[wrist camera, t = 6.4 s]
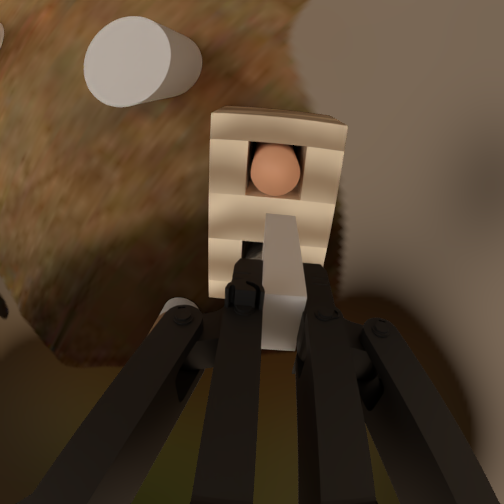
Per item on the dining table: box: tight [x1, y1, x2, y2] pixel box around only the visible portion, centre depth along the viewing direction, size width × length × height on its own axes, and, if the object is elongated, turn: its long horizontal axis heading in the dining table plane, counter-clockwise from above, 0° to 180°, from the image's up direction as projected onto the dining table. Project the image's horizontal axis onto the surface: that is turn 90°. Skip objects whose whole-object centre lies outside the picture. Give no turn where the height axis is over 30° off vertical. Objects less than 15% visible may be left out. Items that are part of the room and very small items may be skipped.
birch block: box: [209, 106, 348, 299], centre depth 34 cm, size 20×12×9 cm, turn 176°
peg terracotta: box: [251, 142, 300, 196], centre depth 31 cm, size 4×4×9 cm
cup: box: [84, 16, 202, 107], centre depth 26 cm, size 8×8×12 cm
